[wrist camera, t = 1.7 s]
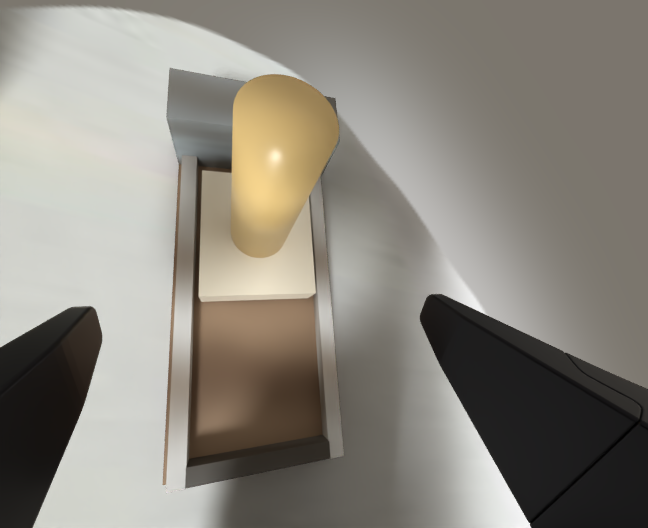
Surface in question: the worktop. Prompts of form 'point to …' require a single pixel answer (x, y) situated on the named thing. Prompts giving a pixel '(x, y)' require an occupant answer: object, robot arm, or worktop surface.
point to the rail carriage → (266, 194)
